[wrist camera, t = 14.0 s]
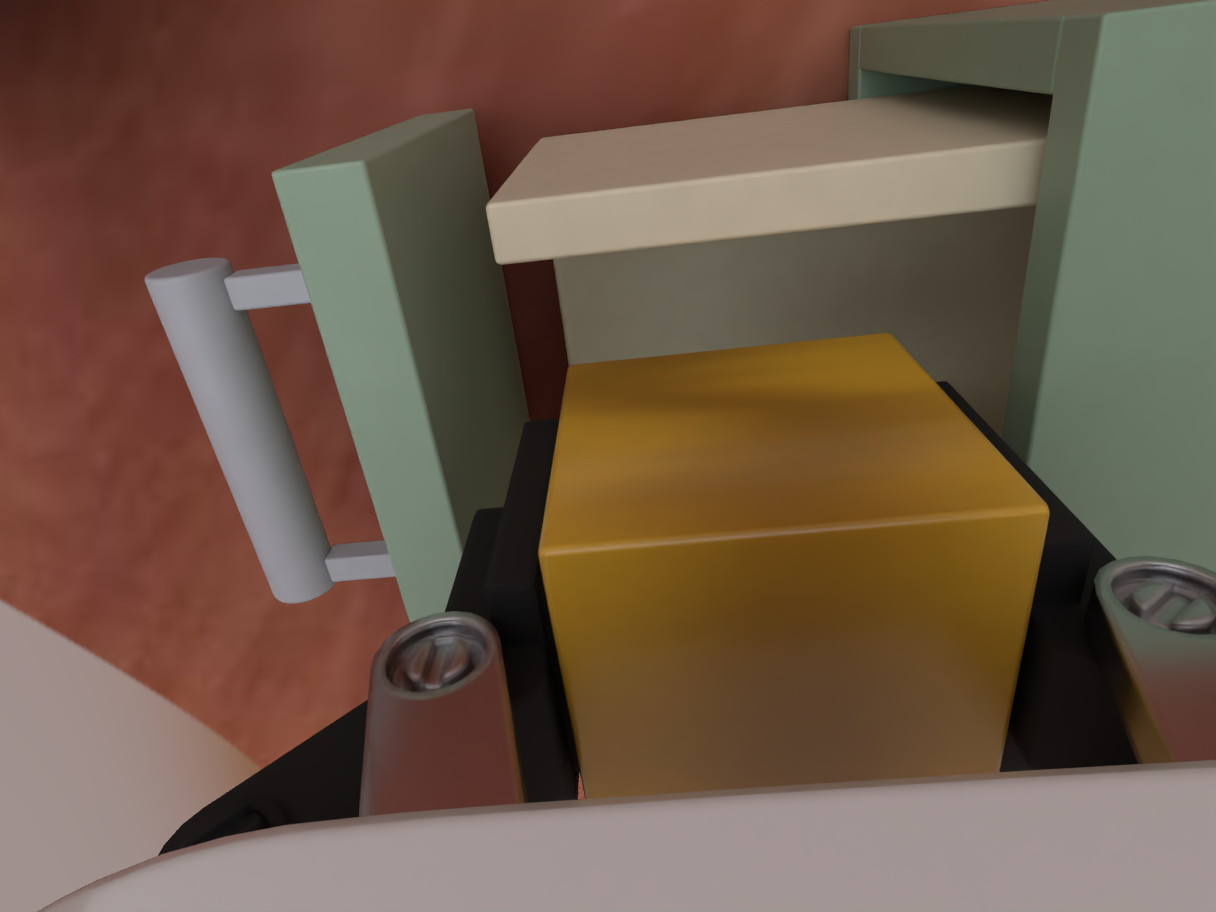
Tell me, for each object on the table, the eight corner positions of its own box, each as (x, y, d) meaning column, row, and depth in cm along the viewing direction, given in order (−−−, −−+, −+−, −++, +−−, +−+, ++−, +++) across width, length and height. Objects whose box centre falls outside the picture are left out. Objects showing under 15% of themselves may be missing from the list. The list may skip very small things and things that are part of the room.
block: (603, 610, 13) (596, 862, 9) (566, 362, 11) (535, 551, 7) (874, 588, 13) (989, 839, 9) (891, 329, 10) (1056, 507, 6)
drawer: (357, 536, 21) (233, 771, 14) (227, 138, 16) (-54, 211, 10) (1008, 479, 20) (1206, 706, 13) (1078, 32, 15) (1455, 26, 8)
